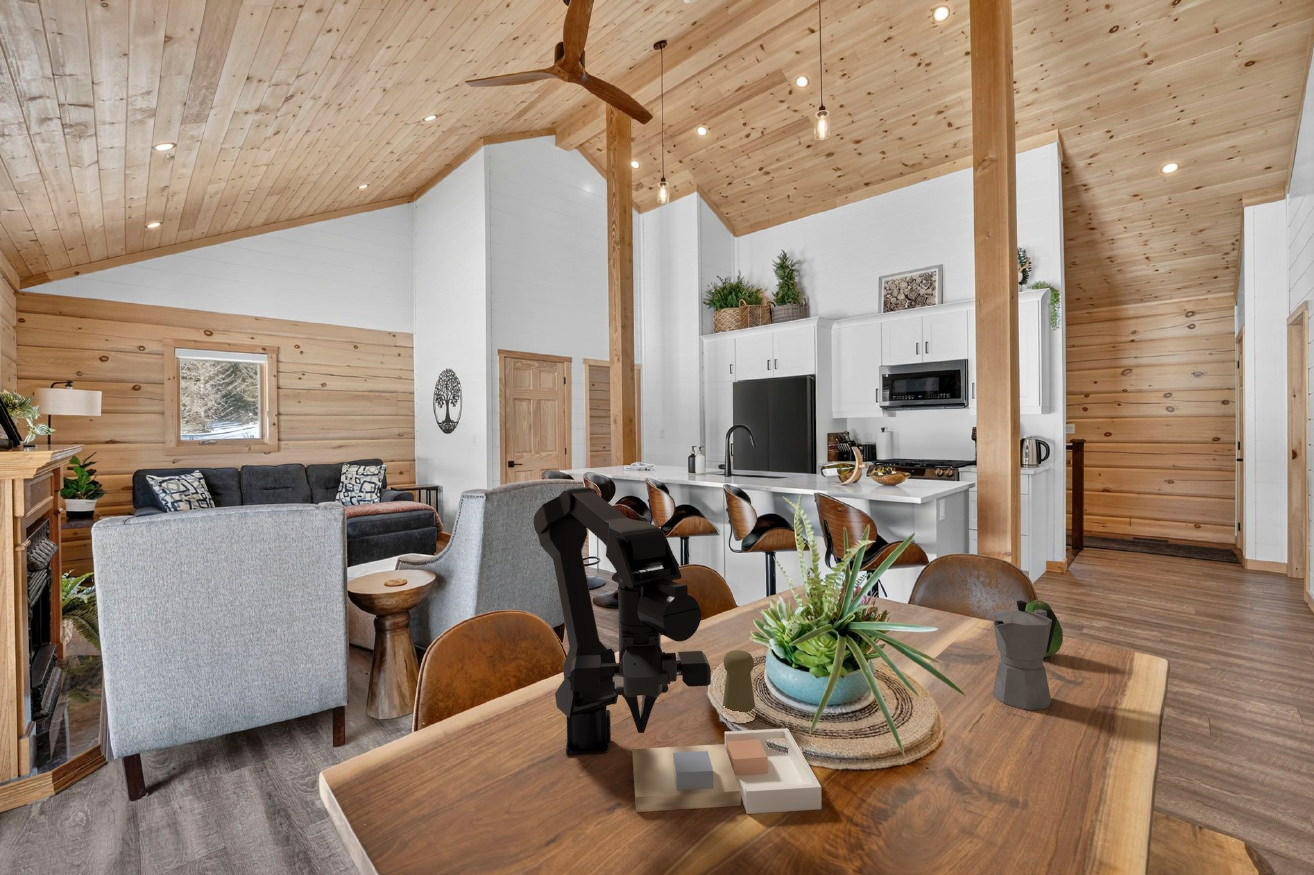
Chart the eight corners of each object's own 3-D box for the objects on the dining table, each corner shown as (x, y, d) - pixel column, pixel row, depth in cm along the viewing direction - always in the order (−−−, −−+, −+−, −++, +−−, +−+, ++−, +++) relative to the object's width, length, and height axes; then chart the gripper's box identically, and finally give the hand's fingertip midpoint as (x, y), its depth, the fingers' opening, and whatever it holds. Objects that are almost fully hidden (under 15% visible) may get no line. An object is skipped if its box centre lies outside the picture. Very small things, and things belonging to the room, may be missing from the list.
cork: (755, 724, 105) (755, 660, 105) (720, 721, 106) (719, 658, 106) (757, 708, 111) (756, 647, 111) (723, 705, 112) (722, 645, 112)
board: (635, 812, 82) (635, 797, 82) (632, 762, 94) (632, 749, 94) (740, 805, 83) (740, 790, 83) (724, 756, 95) (724, 744, 95)
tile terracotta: (733, 775, 90) (733, 759, 90) (726, 756, 95) (726, 741, 95) (767, 773, 90) (767, 756, 90) (759, 754, 95) (758, 739, 95)
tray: (746, 813, 82) (746, 791, 82) (724, 750, 97) (724, 731, 97) (821, 809, 82) (821, 786, 82) (787, 747, 98) (787, 728, 98)
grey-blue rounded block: (676, 790, 84) (676, 772, 84) (672, 769, 89) (672, 752, 89) (713, 788, 84) (713, 770, 84) (707, 767, 89) (707, 750, 89)
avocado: (1011, 653, 135) (1011, 598, 134) (1034, 647, 138) (1035, 593, 138) (1047, 666, 128) (1048, 608, 127) (1071, 659, 131) (1072, 602, 131)
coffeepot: (1020, 717, 106) (1020, 612, 106) (972, 695, 115) (972, 598, 115) (1079, 700, 112) (1080, 601, 112) (1030, 680, 121) (1030, 588, 121)
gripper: (566, 643, 77) (568, 768, 77) (717, 637, 78) (718, 760, 78) (571, 614, 88) (573, 724, 88) (704, 609, 89) (704, 717, 90)
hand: (641, 731), depth 86 cm, fingers closed
